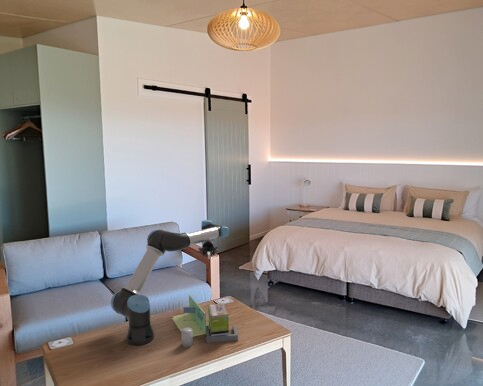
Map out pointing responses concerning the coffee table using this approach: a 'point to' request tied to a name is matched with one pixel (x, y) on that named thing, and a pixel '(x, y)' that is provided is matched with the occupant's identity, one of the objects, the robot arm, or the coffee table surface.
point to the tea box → (218, 319)
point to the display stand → (192, 318)
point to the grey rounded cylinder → (187, 337)
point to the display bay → (222, 336)
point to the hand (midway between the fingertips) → (209, 256)
